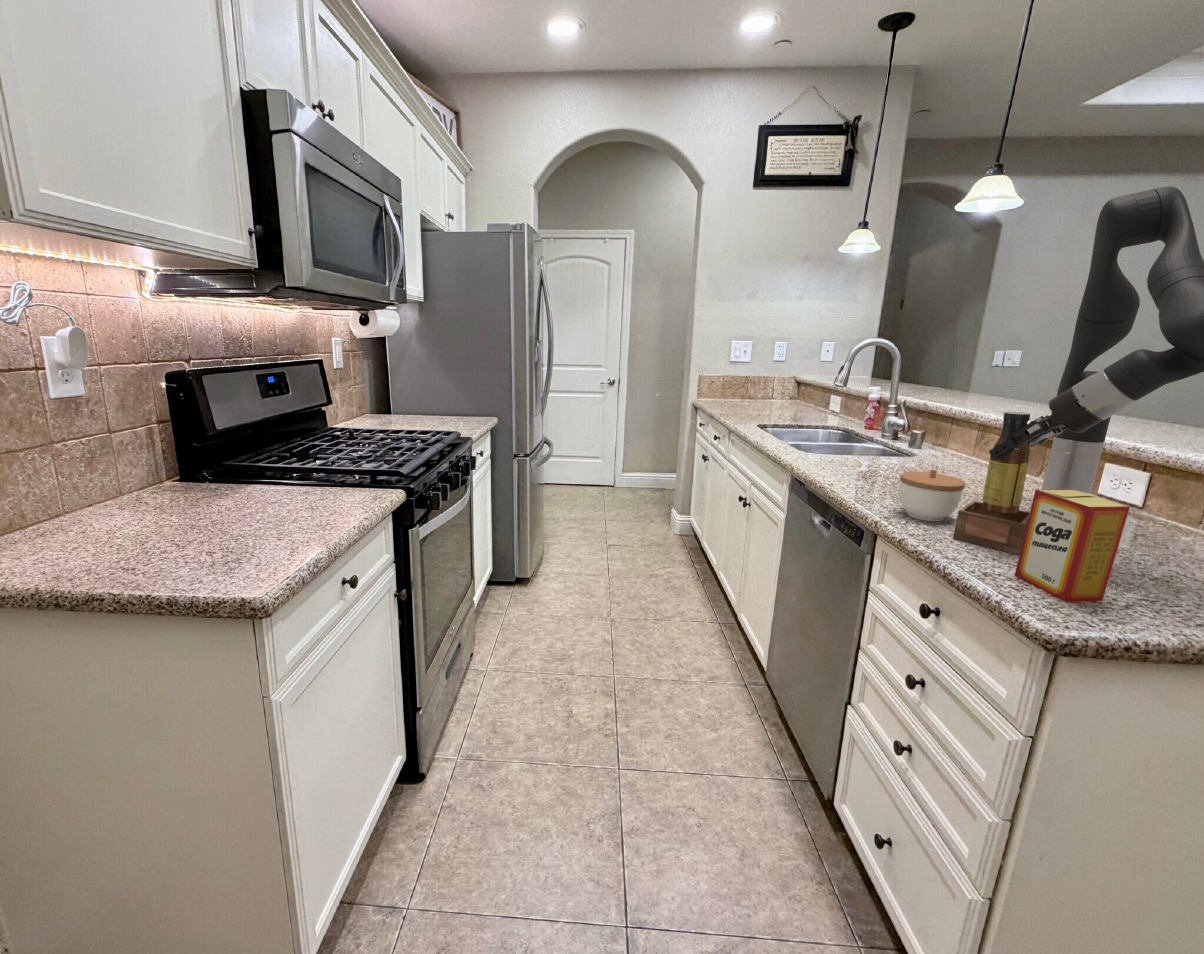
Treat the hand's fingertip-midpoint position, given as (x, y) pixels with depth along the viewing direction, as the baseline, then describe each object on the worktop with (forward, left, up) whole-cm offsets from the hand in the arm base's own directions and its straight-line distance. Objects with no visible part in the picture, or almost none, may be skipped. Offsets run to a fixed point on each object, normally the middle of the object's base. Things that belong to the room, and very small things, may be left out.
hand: (1000, 454), depth 108 cm
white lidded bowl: (-6, -12, -18) cm, 22 cm away
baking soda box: (+18, +15, -18) cm, 29 cm away
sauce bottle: (0, +2, -11) cm, 12 cm away
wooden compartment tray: (0, +7, -18) cm, 19 cm away
